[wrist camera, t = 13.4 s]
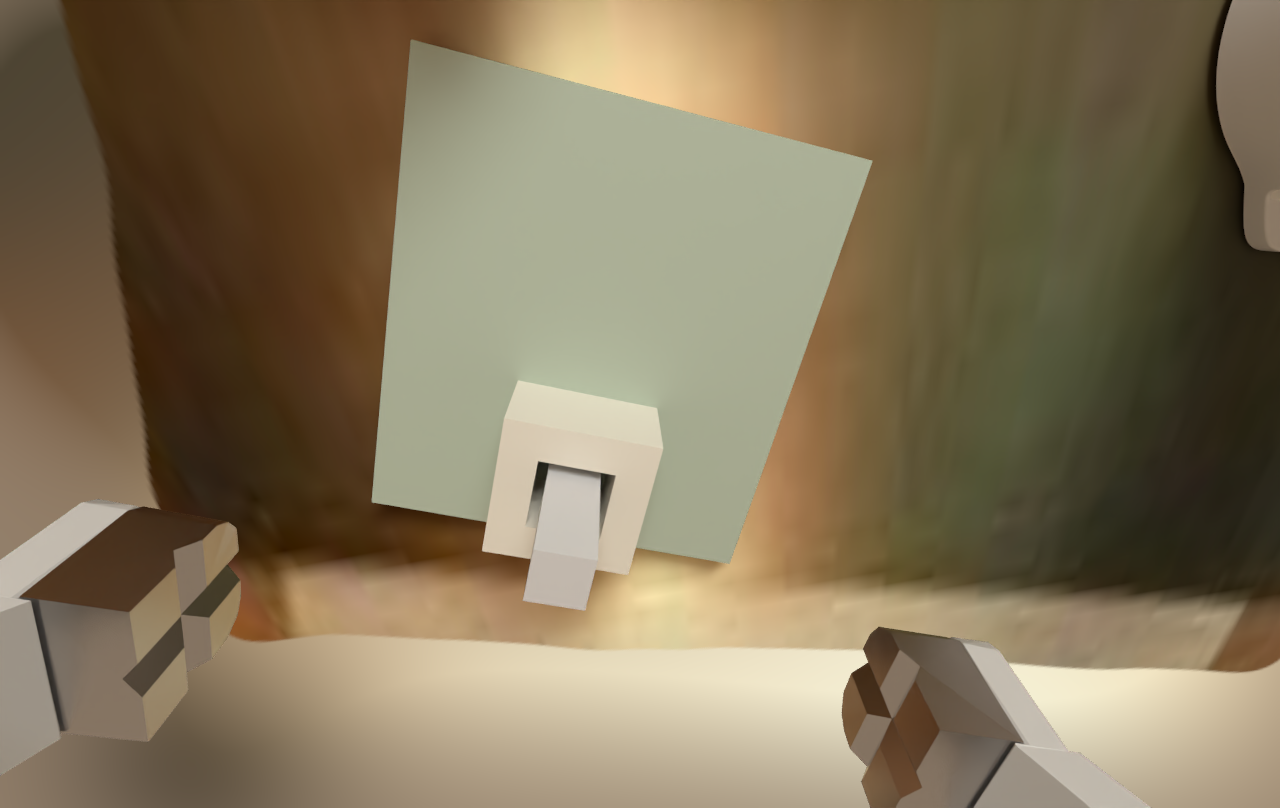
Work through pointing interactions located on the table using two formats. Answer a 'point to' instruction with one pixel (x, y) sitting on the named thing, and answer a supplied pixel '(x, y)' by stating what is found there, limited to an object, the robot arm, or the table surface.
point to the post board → (596, 297)
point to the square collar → (577, 439)
